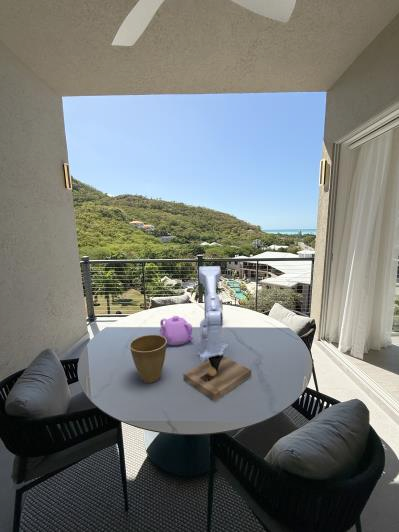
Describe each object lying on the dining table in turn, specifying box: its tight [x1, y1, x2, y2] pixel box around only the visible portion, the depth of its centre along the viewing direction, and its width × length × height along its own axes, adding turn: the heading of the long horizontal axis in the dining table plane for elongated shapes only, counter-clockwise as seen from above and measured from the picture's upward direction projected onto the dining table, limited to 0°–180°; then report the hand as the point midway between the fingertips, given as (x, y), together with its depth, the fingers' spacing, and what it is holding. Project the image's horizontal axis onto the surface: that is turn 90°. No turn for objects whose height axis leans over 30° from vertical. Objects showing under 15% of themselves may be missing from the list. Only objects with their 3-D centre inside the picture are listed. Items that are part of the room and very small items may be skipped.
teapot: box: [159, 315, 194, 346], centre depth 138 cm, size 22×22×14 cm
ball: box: [208, 367, 217, 376], centre depth 103 cm, size 4×4×4 cm
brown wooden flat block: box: [182, 355, 252, 402], centre depth 106 cm, size 18×22×3 cm
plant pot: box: [129, 334, 168, 384], centre depth 106 cm, size 15×15×16 cm
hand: (214, 370), depth 104 cm, fingers closed, pressing on ball
